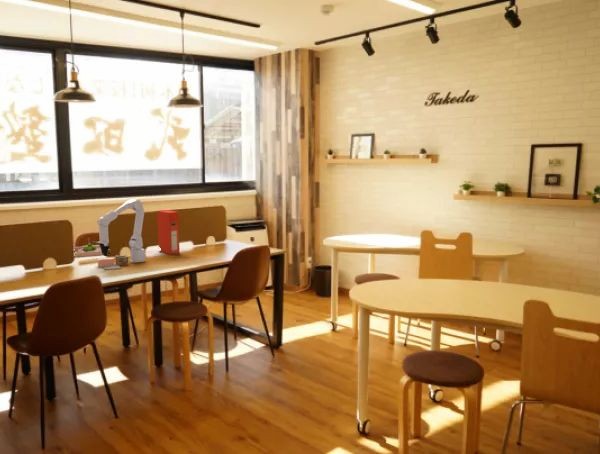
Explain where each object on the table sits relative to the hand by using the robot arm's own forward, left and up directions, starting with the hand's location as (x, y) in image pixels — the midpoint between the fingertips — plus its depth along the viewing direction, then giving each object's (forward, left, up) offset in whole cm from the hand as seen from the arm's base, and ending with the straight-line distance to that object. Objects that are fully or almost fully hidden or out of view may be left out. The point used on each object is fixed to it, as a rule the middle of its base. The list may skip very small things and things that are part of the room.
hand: (104, 254), depth 365 cm
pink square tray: (+3, -53, -8) cm, 54 cm away
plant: (+3, -53, -8) cm, 54 cm away
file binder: (-51, -28, -8) cm, 59 cm away
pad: (-3, +8, -8) cm, 12 cm away
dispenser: (-11, 0, -8) cm, 13 cm away
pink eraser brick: (0, 0, -8) cm, 8 cm away
